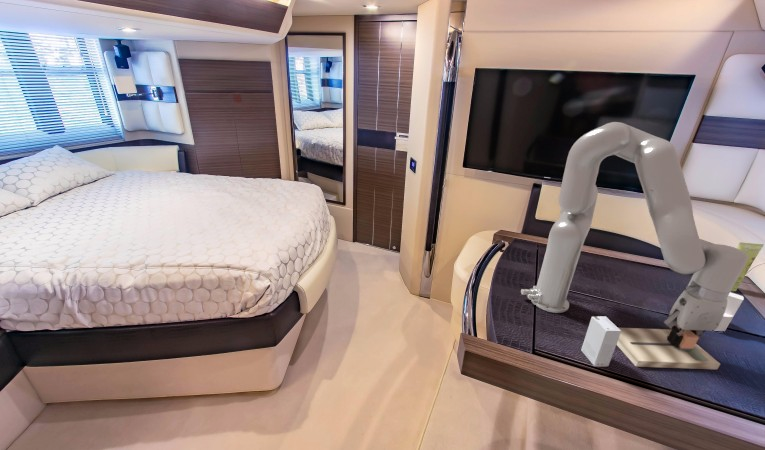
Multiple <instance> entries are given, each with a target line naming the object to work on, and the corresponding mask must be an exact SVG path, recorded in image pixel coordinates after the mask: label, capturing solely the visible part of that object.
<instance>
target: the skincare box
mask: <svg viewBox="0 0 765 450" xmlns="http://www.w3.org/2000/svg"><path fill="white" fill-rule="evenodd" d="M619 328H620V327H617V325H616V324H615V323H613V322H612V321H611V320H610V319H609V317H607V316H606V315H605V316H601V315H600V316H599V315H598V316H591V318H590V321H589V324H588V327H587V330H586V334H585V336H584V339H583V340H584V341H583V343H582V346H581V352H582V353H583V354H584V356H585V357H586V359H587V360H588V361H589V362H590V363H591V364H592V366H593V367H602V368H604V367H605V368H606V367H609V365H610V363H611V360H612V358H613V354H614V353H615V350H616V347H617V342H618V339H619V336H620V334H621V330H620V329H619Z"/></svg>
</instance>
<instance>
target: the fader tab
mask: <svg viewBox="0 0 765 450" xmlns="http://www.w3.org/2000/svg"><path fill="white" fill-rule="evenodd" d="M678 329H680V327H679V326H678ZM669 330H670V332H671V329H669ZM670 332H669V334H670ZM669 334H668V336H669ZM668 336H667V338H668ZM682 336H683V339H682V341H681V343H680V345H679V346H678V348H679V349H680V350H681V351H692V349H693V348H694V346H695V344H697V342H698V340H699V339H700V337H698V336H697V335H695V334H694V333H693V332H692V331H690V330H685V332H684V333H683V335H682Z"/></svg>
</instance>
